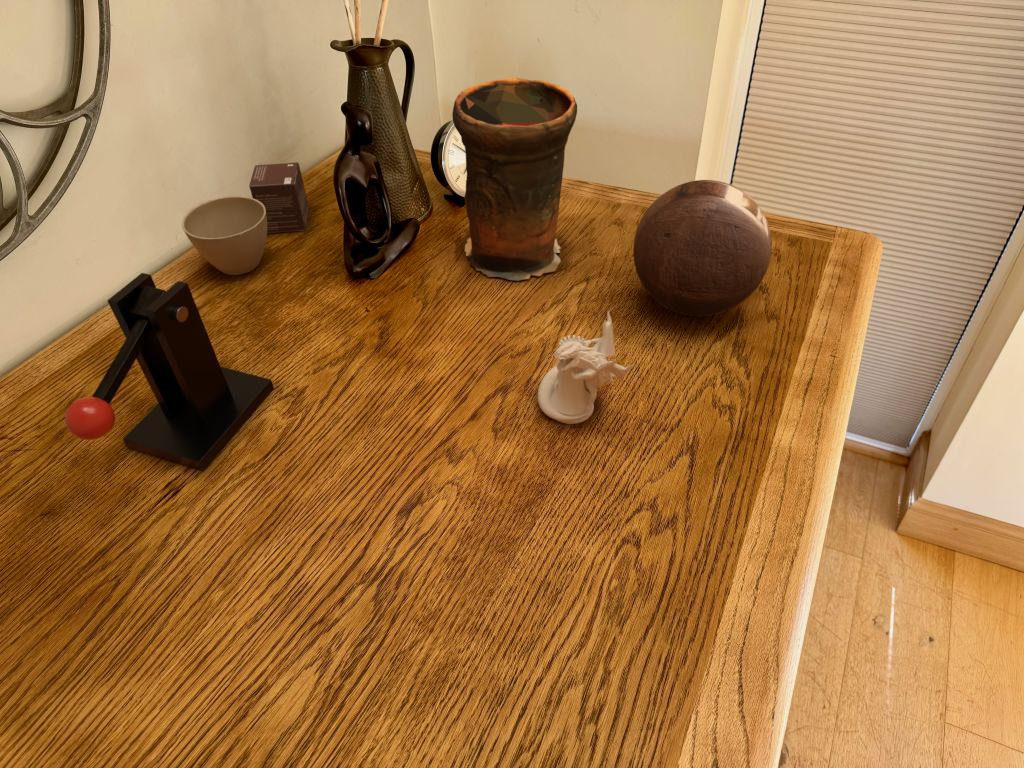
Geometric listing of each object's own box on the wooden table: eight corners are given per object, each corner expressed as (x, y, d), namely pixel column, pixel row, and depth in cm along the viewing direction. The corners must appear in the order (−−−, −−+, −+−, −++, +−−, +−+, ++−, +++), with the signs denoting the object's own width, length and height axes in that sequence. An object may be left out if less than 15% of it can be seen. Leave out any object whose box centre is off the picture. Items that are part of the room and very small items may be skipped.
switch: (110, 450, 61) (81, 435, 58) (76, 440, 62) (46, 424, 59) (190, 309, 66) (167, 287, 63) (158, 301, 67) (134, 280, 64)
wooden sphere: (768, 343, 81) (803, 225, 71) (634, 343, 81) (649, 226, 71) (741, 266, 92) (767, 155, 82) (622, 267, 92) (634, 156, 82)
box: (267, 212, 104) (254, 164, 99) (310, 209, 104) (299, 161, 99) (261, 234, 99) (247, 186, 94) (306, 231, 100) (294, 182, 95)
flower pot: (185, 266, 94) (166, 217, 89) (252, 235, 99) (237, 187, 94) (226, 297, 89) (208, 247, 84) (294, 262, 94) (281, 213, 89)
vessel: (579, 227, 99) (587, 79, 86) (560, 288, 89) (565, 131, 75) (477, 216, 102) (469, 71, 88) (448, 274, 92) (434, 120, 78)
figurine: (523, 399, 75) (522, 307, 67) (582, 370, 78) (588, 279, 70) (587, 465, 69) (595, 372, 60) (649, 431, 72) (664, 338, 63)
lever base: (203, 471, 69) (142, 344, 58) (127, 448, 71) (54, 321, 60) (274, 388, 77) (232, 263, 66) (204, 370, 79) (152, 246, 68)
